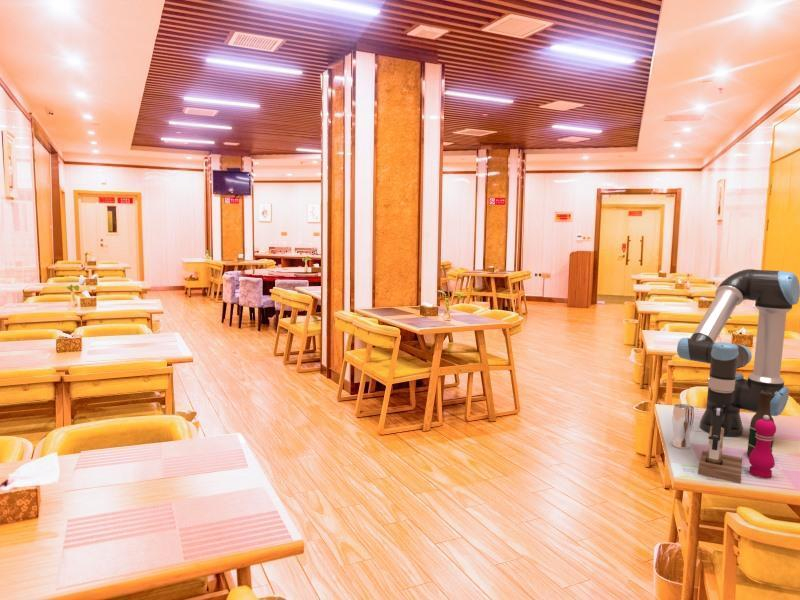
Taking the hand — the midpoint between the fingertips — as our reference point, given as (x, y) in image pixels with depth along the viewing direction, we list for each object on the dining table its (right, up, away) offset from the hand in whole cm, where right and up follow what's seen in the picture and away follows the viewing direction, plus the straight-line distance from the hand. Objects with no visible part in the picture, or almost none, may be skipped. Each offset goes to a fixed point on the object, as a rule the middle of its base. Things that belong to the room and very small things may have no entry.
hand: (714, 452), depth 194 cm
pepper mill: (+13, -7, -3) cm, 15 cm away
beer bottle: (+21, -5, +11) cm, 25 cm away
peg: (0, -6, +1) cm, 6 cm away
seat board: (+2, -6, 0) cm, 6 cm away
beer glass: (-2, -3, +21) cm, 21 cm away
